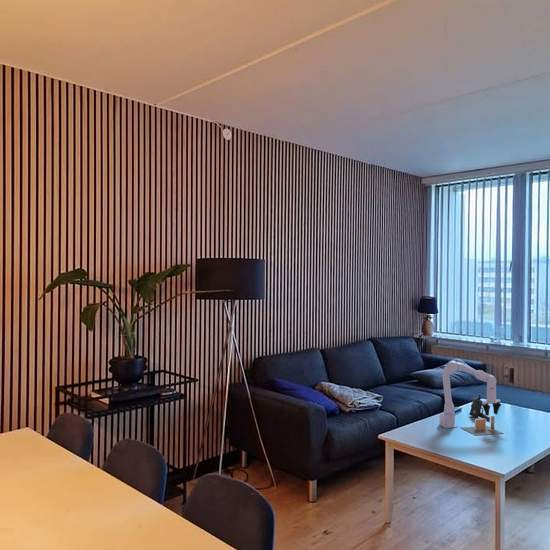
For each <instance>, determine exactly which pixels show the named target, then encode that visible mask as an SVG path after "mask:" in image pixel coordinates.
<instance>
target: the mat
mask: <svg viewBox="0 0 550 550" xmlns="http://www.w3.org/2000/svg"><path fill="white" fill-rule="evenodd" d="M460 428H461V429H462V430H463V431H466V432H468V433H469V434H472V435H474V436H477V437H478V436H491V435H503V434H504V433H503V432H501V431H499V430H497V432H491V431H488V429H491V426H489V425H486V430H475V426H464V427H460Z"/></svg>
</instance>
